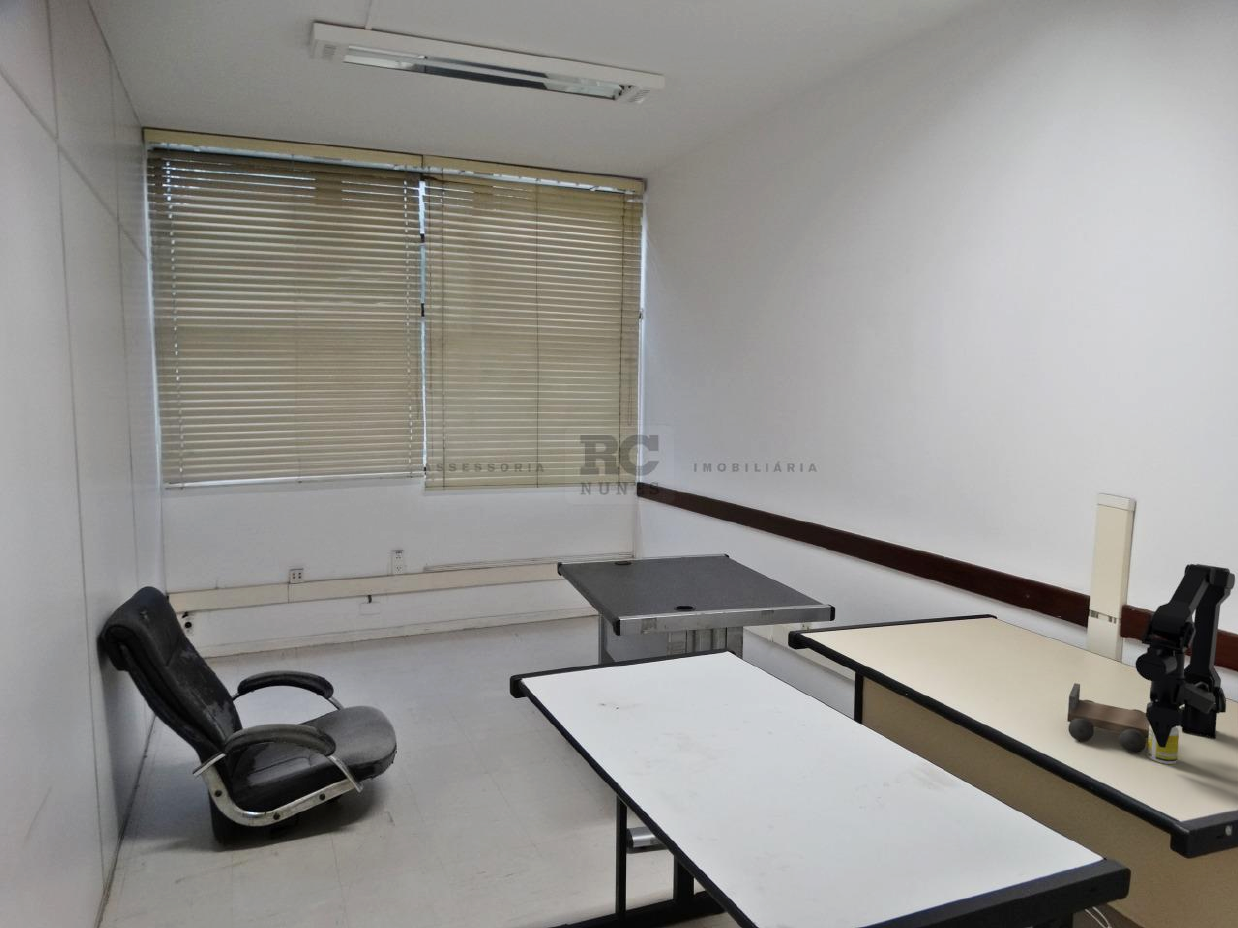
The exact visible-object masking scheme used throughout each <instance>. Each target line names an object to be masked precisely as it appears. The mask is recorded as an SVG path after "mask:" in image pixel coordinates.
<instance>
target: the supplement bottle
mask: <svg viewBox="0 0 1238 928" xmlns="http://www.w3.org/2000/svg"><path fill="white" fill-rule="evenodd" d="M1179 730H1180V729H1178V726H1176V727H1173V728H1172V730H1171V732H1170V735H1169V738H1168V741H1167V744H1166V747H1165V748H1162V747H1159V745H1158V743H1157V740H1156V738H1155V735H1154V733H1153V731H1152V728H1151V726H1149V739H1147V740H1148V741H1147V742H1148V743H1147V757H1148V758H1149V759H1150V760H1152V761H1154V762H1157V763H1161V764H1164V765H1172V764H1176V763H1177V761H1178V751H1179V740H1180V739H1179V738H1180V731H1179Z"/></svg>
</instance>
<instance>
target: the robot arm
mask: <svg viewBox="0 0 1238 928" xmlns="http://www.w3.org/2000/svg"><path fill="white" fill-rule="evenodd" d="M1235 584H1236V576H1235V574H1234V573H1232V572H1231V570H1230V569H1229V568H1227V567H1220V566H1214V565H1206V564H1200V563H1196V564H1195V563H1191V564H1187V565H1185V568H1184V573H1183V577H1182V578H1181V580H1180V583H1179V584H1178V586H1177V588H1176V589H1175V591H1174V593H1173V594H1172V597H1171V598H1170V600H1169V601H1168V602H1167V603H1165V604H1164V603H1163V604H1161V605H1159V606H1158V607H1157V608H1156V610H1154V612H1153V614H1151V615H1150V616H1149V617H1148V621H1147V624H1146V626H1145V630H1144V633H1143V636H1142V638H1141V639H1142V640H1141V644H1143V645H1148V647H1147V648H1146V652H1144V653H1142V654H1141V655H1139V656H1138V657H1137V659H1136V660H1135V663H1134V664H1135V669H1136V671H1137V673H1138V674H1139V675H1140V676H1141V677H1142V678H1143V679H1145V680H1147V681H1148V682H1149V681H1150V687H1149V700H1150V701H1149V702H1148V703H1147V704H1146V712H1145V713H1146V717H1147V720H1148V721H1149V724H1150V726H1151V728H1152V731H1153V733H1154V735H1155V738H1156V740H1157V743H1158V745H1159V747H1162V748H1165V747H1166V744H1167V741H1168V738H1169V735H1170V732H1171V730H1172V728H1173V727H1181V732H1182V733H1186V734H1191V735H1196V736H1202V737H1206V738H1211V739H1216V738H1217V719H1218V718H1217V717H1218V714H1220V713H1223V714H1225V713H1226V712H1227V698H1226V695H1225V693H1224V690H1223V687H1221V684H1222V679H1221V676H1220V675H1219V673H1218V671H1217V669H1216V668H1215V659H1216V658H1215V657H1216V648H1217V640H1218V638H1217V637H1218V631H1219V630H1218V629H1219V620H1220V612H1221V605H1222V604H1223V603H1224V602H1225V600H1227V599H1228V598H1229V597H1230V596H1231V593H1232V592H1231V591H1232V590H1233V589H1234V588H1235ZM1193 615H1194V621H1193ZM1190 648H1191V649H1190ZM1187 649H1190V658H1189V664H1188V665H1187V666H1185V663H1186V662H1185V661H1186V651H1187Z"/></svg>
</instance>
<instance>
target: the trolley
mask: <svg viewBox="0 0 1238 928" xmlns="http://www.w3.org/2000/svg"><path fill="white" fill-rule="evenodd" d="M1080 691H1081V684H1080V683H1076V682H1074V683H1073V686H1072V688H1071V690H1070V693H1069V695H1068V708H1067V710H1068V711H1067V721H1066V722H1068V723H1069V724H1068V733H1069V735H1070V736H1071V738H1073V739H1074V740H1076V741H1078V742H1089V741H1090V740H1091V739H1093V737H1094V733H1095V728H1096V729H1099V730H1100V729H1101V730H1106V731H1108V732H1109V731H1110V732H1114V733H1119V739H1118V742H1119V744H1120V746H1121V749H1123V750H1124V751H1126V752H1128V753H1131V754H1140V753H1142V752H1144V750H1145V749H1146V747H1147V740H1148V739H1149V726H1150V724H1149V721H1148V720H1147V717H1146V712H1145V711H1142V710H1139V709H1128V708H1122V707H1119V706H1115V705H1114V706H1113V705H1110V704H1109V705H1108V704H1104V703H1099V702H1095V701H1094V700H1090V699H1080V695H1081V693H1080Z"/></svg>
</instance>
